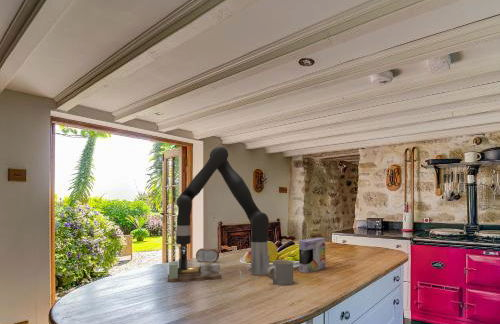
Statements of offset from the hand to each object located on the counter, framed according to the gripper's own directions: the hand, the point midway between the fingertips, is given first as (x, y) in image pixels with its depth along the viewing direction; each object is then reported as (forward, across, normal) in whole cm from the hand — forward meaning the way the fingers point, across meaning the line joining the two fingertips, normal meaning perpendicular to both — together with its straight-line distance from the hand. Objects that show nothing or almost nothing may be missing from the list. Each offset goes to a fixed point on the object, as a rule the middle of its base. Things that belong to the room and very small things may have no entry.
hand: (182, 268), depth 175 cm
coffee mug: (+6, -20, -45) cm, 50 cm away
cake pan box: (+6, +1, -72) cm, 73 cm away
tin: (+6, +42, -18) cm, 46 cm away
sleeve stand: (+5, 0, -6) cm, 8 cm away
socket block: (+4, 0, +5) cm, 6 cm away
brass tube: (+3, 0, -4) cm, 5 cm away
